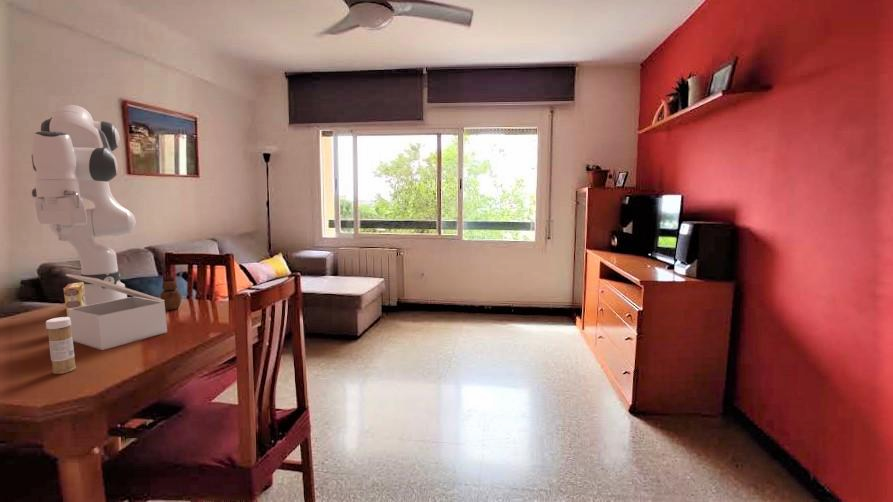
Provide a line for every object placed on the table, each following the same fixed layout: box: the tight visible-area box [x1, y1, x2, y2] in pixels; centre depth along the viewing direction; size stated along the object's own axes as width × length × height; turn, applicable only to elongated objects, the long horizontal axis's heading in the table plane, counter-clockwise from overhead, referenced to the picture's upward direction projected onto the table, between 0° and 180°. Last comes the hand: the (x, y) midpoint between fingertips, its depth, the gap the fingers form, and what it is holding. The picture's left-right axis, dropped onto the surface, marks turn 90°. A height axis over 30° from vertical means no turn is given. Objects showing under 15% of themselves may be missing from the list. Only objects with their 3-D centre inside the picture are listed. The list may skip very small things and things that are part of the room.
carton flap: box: [65, 273, 165, 302], centre depth 134 cm, size 18×20×1 cm
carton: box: [68, 296, 168, 351], centre depth 135 cm, size 18×18×10 cm
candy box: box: [62, 282, 86, 317], centre depth 141 cm, size 9×4×15 cm, turn 33°
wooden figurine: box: [159, 270, 182, 311], centre depth 168 cm, size 7×6×15 cm
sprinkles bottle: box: [45, 316, 77, 375], centre depth 108 cm, size 5×5×13 cm
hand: (64, 240), depth 122 cm, fingers closed
